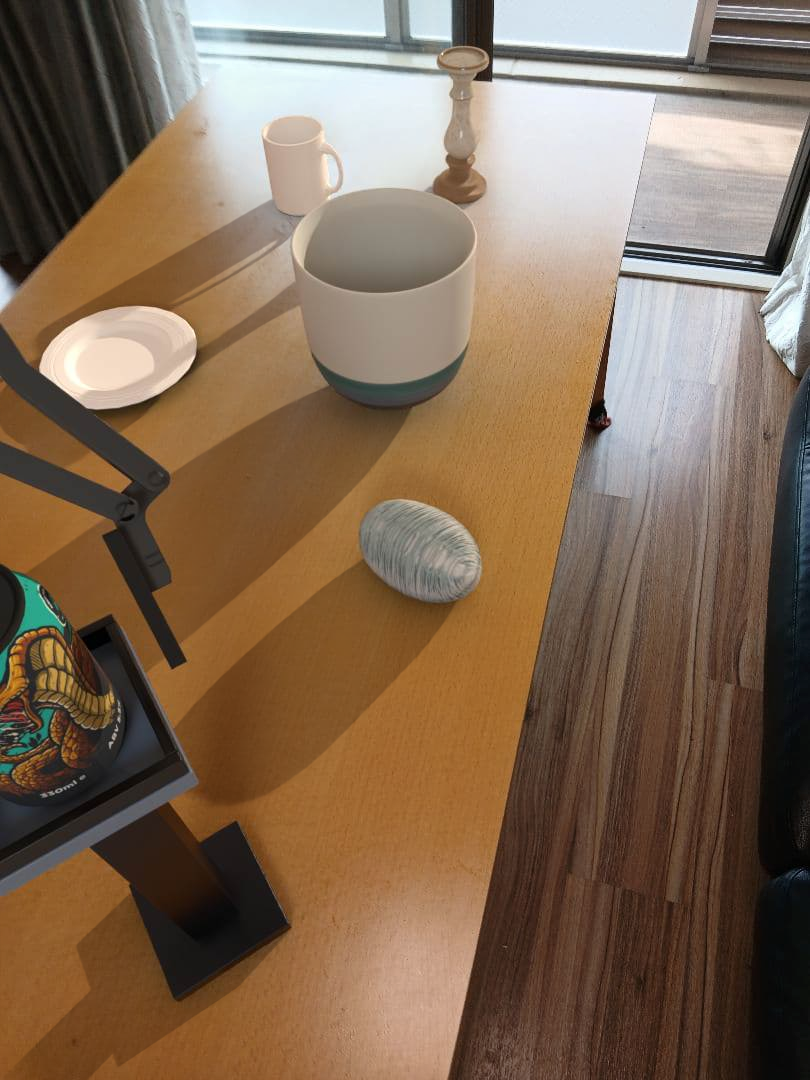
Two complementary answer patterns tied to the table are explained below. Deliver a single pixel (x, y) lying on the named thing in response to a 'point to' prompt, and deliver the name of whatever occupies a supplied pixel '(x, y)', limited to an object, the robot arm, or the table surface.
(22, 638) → the beverage can
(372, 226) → the planter
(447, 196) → the candle holder
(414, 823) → the table surface
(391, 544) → the grey streaked ellipsoid
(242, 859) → the pad stand
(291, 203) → the mug
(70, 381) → the plate
